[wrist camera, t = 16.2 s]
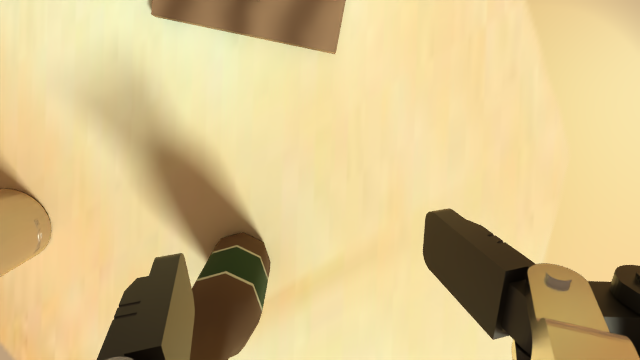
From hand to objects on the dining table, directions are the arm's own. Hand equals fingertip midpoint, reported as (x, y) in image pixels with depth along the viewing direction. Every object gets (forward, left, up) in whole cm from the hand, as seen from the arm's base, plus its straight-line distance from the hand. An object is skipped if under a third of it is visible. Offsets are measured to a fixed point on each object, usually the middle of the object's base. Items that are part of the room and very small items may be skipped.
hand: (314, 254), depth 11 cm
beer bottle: (-5, -17, -32) cm, 37 cm away
